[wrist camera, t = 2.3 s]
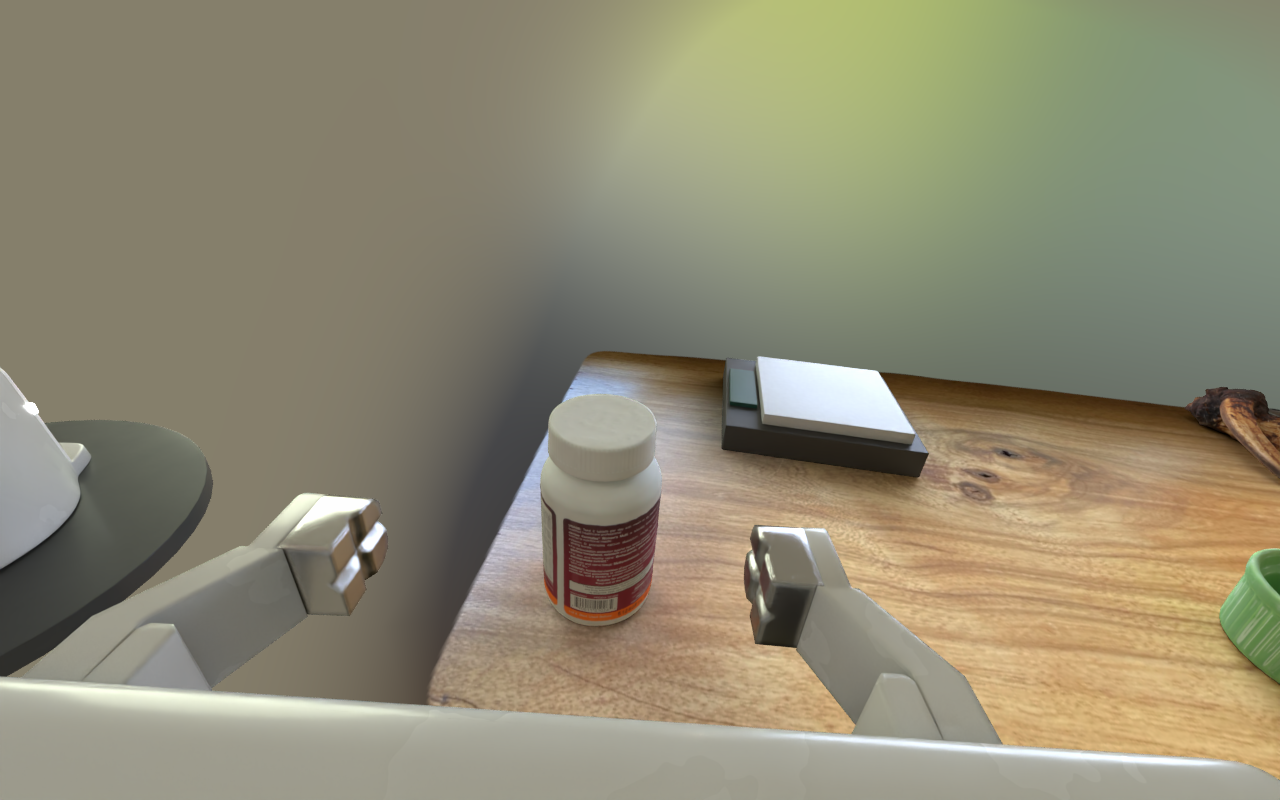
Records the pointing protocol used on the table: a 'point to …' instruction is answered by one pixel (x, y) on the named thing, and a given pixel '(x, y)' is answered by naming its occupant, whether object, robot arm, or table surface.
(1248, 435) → the lashed bone hook
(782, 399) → the scale
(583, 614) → the pill bottle
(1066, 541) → the table surface
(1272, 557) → the ramekin
